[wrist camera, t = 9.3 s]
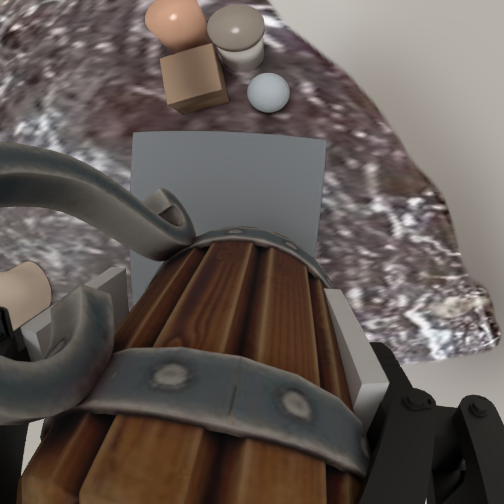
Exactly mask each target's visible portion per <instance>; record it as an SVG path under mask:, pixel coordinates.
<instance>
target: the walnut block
mask: <svg viewBox="0 0 504 504" xmlns="http://www.w3.org/2000/svg"><path fill="white" fill-rule="evenodd" d="M160 63H161V69H162V76H163V82H164V88H165V94H166V100H167V105H169V106H170V107H172V108H173V109H175V110H177V111H178V112H180V113H181V114H186V113H190V112H194V111H197V110H201V109H205V108H209V107H213V106H217V105H221V104H225V103H229V97H228V93H227V88H226V83H225V79H224V74H223V70H222V65H221V61H220V59H219V57H218V55H217V53H216V51H215V49H214V47H213V45H212V43H211V44H207V45H203V46H199V47H196V48H192V49H189V50H185V51H182V52H179V53H176V54H173V55H170V56H167V57H164V58H161V59H160Z"/></svg>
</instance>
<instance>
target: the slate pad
mask: <svg viewBox="0 0 504 504" xmlns="http://www.w3.org/2000/svg"><path fill="white" fill-rule="evenodd" d="M326 141H327V140H319V139H311V138H302V137H293V136H283V135H271V134H257V133H241V132H216V131H157V132H134V133H133V145H132V159H131V178H130V193H131V194H132V195H134V196H135V197H136V198H137V199H139V200H140V201H141V202H142V201H144V200H145V199H146V198H148V197H149V196H150V195H152V194H153V193H154V192H156V191H157V190H158V189H160V188H165V189H167V190H169V191H170V192H171V193H173V194H174V195H175V196H176V197H177V198H178V200H179V201H180V202H181V203H182V204H183V206H184V207H185V209H186V211H187V212H188V214H189V216H190V218H191V220H192V222H193V225H194V228H195V232H196V237H197V236H199V235H201V234H203V233H206V232H208V231H210V230H217V229H221V228H225V227H234V226H246V227H257V228H258V229H263V230H267V231H270V232H276V233H278V234H280V235H282V236H285V237H287V238H289V239H291V240H292V241H294V242H295V243H296V244H298V245H299V246H301V247H302V248H304V250H305V251H307V252H308V253H309V254H311V255H312V256H313V257H314V258H315V252H316V244H317V236H318V228H319V219H320V210H321V200H322V190H323V179H324V167H325V155H326ZM163 262H164V261H162V262H158V261H153V260H150V259H148V258H145V257H143V256H141V255H140V254H138V253H136V252H134V251H132V250H131V249H130V266H131V285H132V300H133V307H134V306H135V304H136V303H137V302H138V300H139V299H140V298H141V297H142V295H143V294H144V293H145V289H146V288H147V286H148V284H149V283H150V281H151V279H152V278H153V276H154V274H155V273H156V271H157V269H158V268H159V267H160V266H161V265H162V263H163Z"/></svg>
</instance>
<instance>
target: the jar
mask: <svg viewBox="0 0 504 504" xmlns="http://www.w3.org/2000/svg"><path fill="white" fill-rule="evenodd" d="M264 31H265V27H264V19H263V17H262V15H261V14H260V13H259V12H258V11H257V10H256V9H254V8H253V7H250V6H247V5H242V4H234V5H229V6H225V7H223V8H221V9H219V10H217V11H216V12H215V13H214V14H213V15H212V16H211V17H210V19H209V21H208V24H207V32H208V35H209V37H210V39H211V41H212V42H213V44H214V45H215V46H217V48H218V51H219V53H220V55H221V57H222V59H223V62H224V63H225V65H226V66H227V67H228V68H230V69H231V70H233V71H237V72H247V71H251V70H253V69H255V68H257V67H258V66H259V65H260V64H261V62H262V61H263V58H264V44H263V35H264Z"/></svg>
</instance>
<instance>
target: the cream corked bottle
mask: <svg viewBox="0 0 504 504" xmlns="http://www.w3.org/2000/svg"><path fill="white" fill-rule="evenodd" d="M50 303H51V288H50V284H49V281H48V279H47V277H46V275H45V273H44V272H43V271H42V269H41V268H40V267H39V266H38V265H36V264H35V263H33V262H30V261H27V262H24V263H22V264H20V265H18V266H16V267H15V268H13V269H11V270H9V271H5V272H0V307H5V308H7V309H8V311H9V315H10V319H11V323H12V327H13V331H14V330H15V329H17V328H18V327H20V326H21V325H22V324H24V323H25V322H27V321H28V320H30V319H32V318H33V317H34V316H35V315H37V314H38V315H39V313H40V312H41V311H43V310H44V309H46V308H48V307H49V306H50Z"/></svg>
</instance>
